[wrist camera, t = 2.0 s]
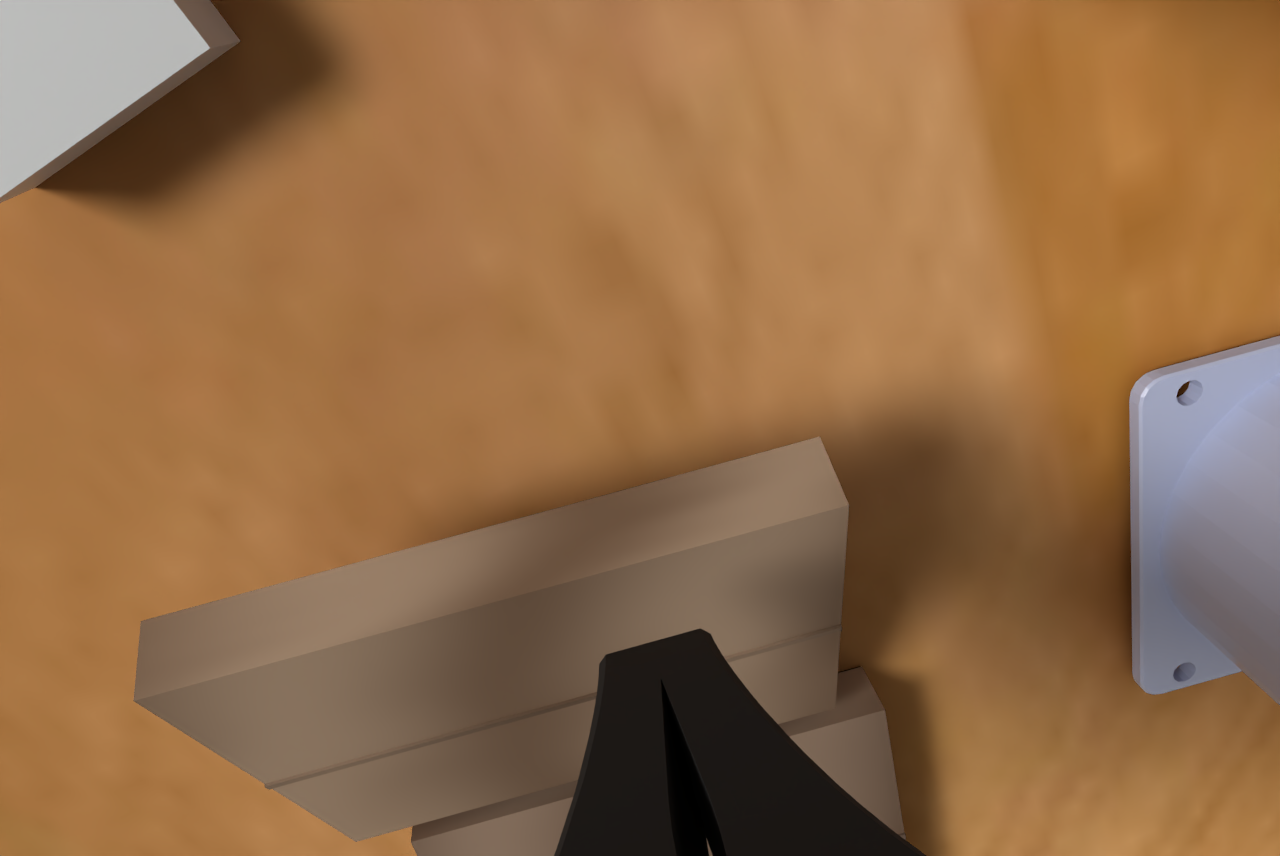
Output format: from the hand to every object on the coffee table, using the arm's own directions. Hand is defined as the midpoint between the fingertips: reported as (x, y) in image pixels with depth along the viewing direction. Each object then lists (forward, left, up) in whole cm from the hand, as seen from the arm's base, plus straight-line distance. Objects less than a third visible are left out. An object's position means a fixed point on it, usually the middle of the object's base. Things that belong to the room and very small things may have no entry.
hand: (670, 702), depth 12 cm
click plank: (+2, +2, -5) cm, 5 cm away
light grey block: (+6, -9, -7) cm, 13 cm away
